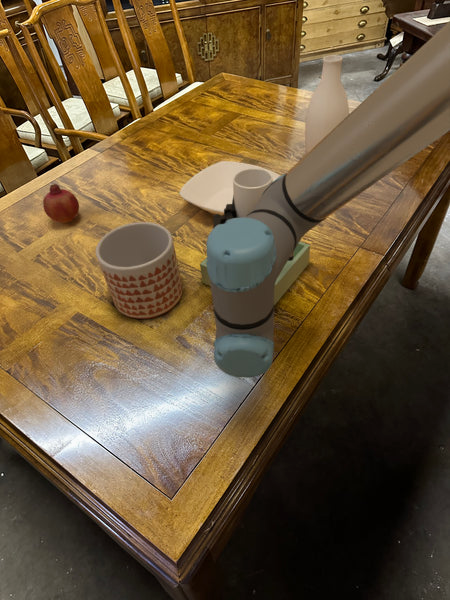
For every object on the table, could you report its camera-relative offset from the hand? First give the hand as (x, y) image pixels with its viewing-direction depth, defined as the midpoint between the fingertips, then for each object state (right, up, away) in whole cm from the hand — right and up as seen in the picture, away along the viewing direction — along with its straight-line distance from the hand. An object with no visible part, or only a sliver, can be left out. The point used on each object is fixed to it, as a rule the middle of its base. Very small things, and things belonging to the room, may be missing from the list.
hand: (255, 196), depth 78 cm
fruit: (-45, 0, +26) cm, 52 cm away
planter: (-21, -18, +5) cm, 28 cm away
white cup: (0, -9, +2) cm, 10 cm away
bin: (+1, -14, +7) cm, 15 cm away
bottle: (+22, +19, +38) cm, 47 cm away
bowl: (-4, +5, +26) cm, 26 cm away
